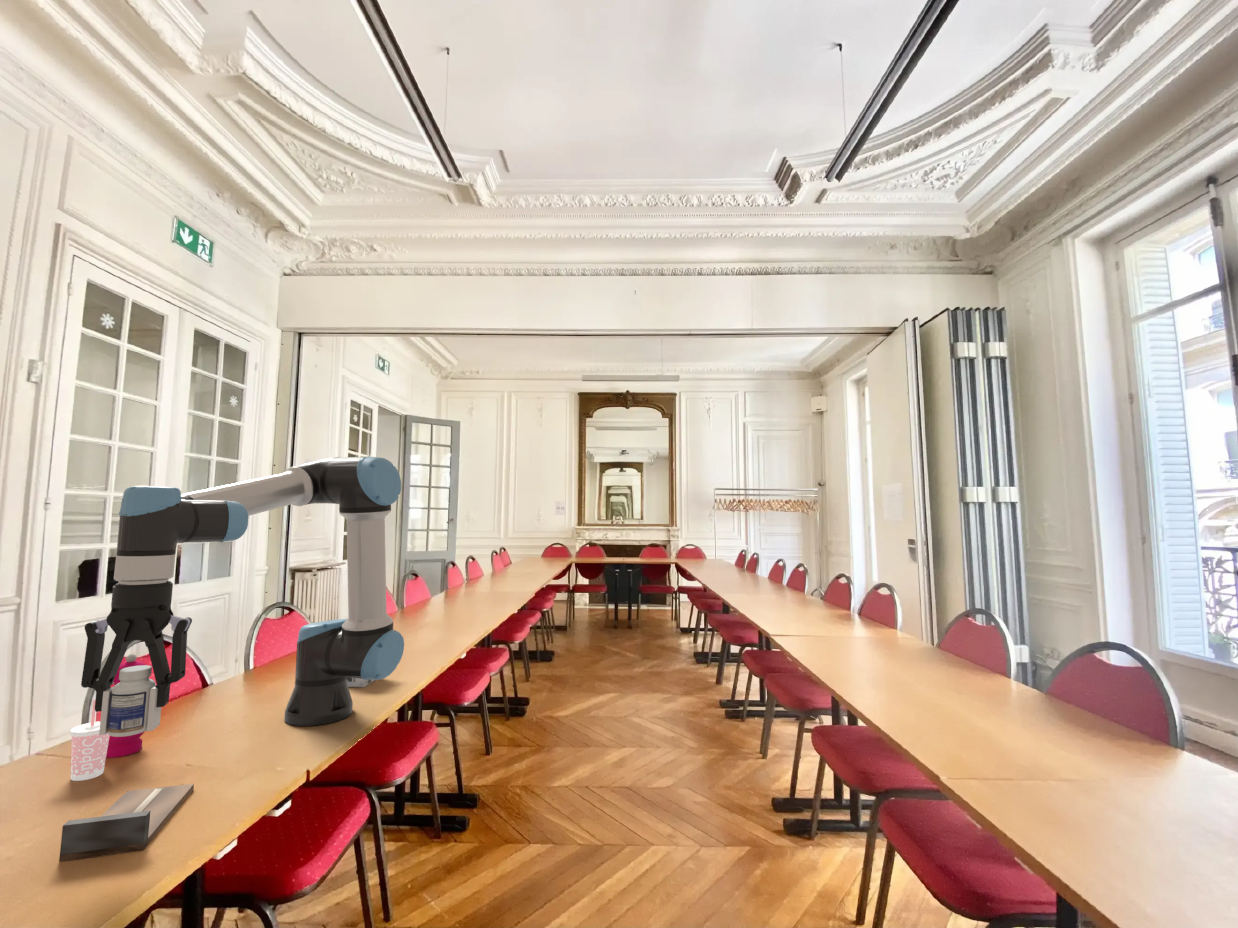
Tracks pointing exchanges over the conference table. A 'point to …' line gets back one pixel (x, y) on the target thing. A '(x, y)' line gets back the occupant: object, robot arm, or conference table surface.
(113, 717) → the pill bottle
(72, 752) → the beverage cup
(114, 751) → the pepper mill
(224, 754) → the conference table surface
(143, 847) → the board
